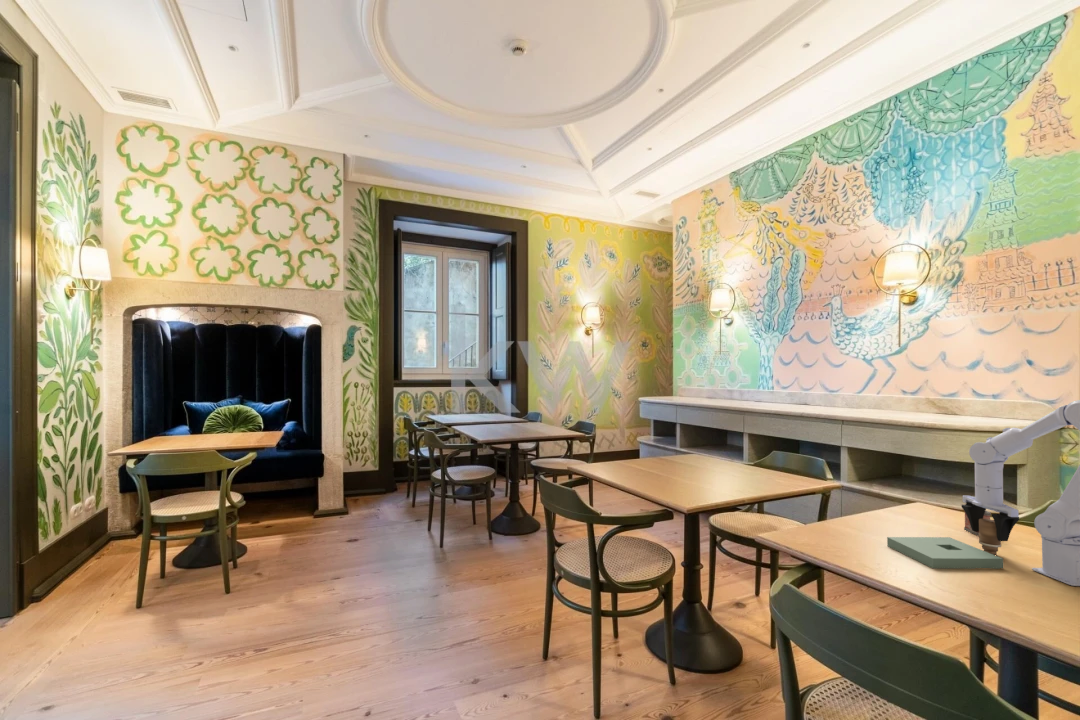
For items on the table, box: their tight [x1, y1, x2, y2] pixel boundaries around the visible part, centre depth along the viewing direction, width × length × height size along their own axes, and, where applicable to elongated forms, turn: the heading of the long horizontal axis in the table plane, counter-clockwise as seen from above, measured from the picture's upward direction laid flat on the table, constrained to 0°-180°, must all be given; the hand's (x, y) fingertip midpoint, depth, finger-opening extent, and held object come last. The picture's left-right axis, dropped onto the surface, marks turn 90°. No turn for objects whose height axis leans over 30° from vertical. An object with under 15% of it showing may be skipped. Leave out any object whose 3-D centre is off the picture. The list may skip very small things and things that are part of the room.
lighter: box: [963, 509, 992, 536], centre depth 151 cm, size 8×3×10 cm, turn 179°
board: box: [886, 536, 1004, 570], centre depth 131 cm, size 16×18×2 cm
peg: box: [978, 518, 1002, 556], centre depth 134 cm, size 4×4×9 cm
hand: (989, 535), depth 134 cm, fingers open, 7 cm apart
